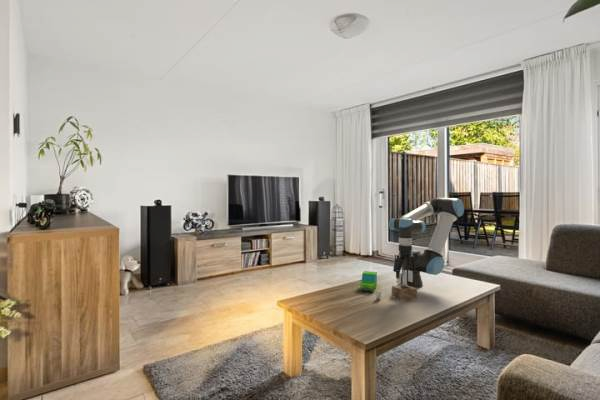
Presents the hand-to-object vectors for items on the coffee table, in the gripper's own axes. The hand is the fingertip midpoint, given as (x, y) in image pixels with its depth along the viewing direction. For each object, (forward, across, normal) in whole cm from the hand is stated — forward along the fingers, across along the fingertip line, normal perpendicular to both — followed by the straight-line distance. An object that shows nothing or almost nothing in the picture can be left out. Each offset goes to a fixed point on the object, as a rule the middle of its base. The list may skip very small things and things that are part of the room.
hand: (404, 282), depth 200 cm
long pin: (+9, 0, 0) cm, 9 cm away
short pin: (+9, -17, +3) cm, 19 cm away
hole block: (+9, 0, 0) cm, 9 cm away
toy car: (+9, -10, +21) cm, 25 cm away
